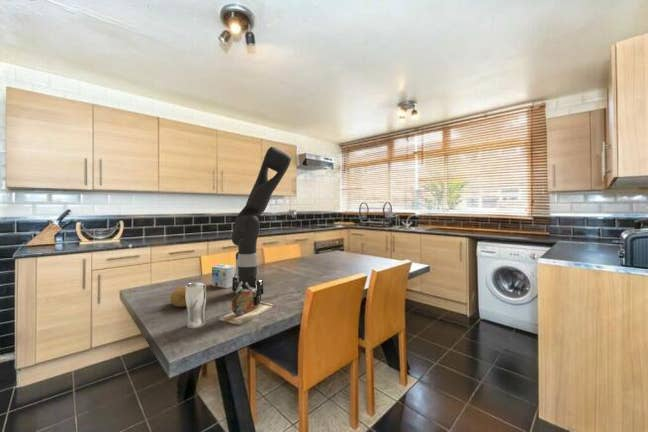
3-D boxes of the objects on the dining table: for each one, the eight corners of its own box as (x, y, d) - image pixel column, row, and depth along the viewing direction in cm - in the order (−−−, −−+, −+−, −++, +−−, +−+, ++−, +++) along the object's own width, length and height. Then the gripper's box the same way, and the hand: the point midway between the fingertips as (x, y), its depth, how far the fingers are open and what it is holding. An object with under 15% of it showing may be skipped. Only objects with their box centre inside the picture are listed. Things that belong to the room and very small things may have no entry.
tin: (236, 318, 104) (236, 296, 104) (230, 317, 106) (230, 295, 105) (261, 305, 118) (261, 286, 118) (256, 304, 119) (256, 285, 119)
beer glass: (190, 321, 104) (189, 281, 103) (209, 320, 104) (208, 281, 104) (182, 329, 97) (181, 287, 96) (202, 328, 97) (202, 287, 97)
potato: (193, 298, 128) (193, 281, 128) (197, 308, 116) (196, 290, 116) (169, 302, 123) (169, 284, 123) (170, 313, 111) (170, 293, 111)
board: (219, 320, 105) (219, 316, 105) (254, 303, 123) (254, 300, 123) (239, 325, 101) (239, 321, 101) (272, 307, 119) (272, 304, 119)
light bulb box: (211, 285, 149) (211, 266, 148) (220, 282, 155) (220, 263, 155) (226, 288, 145) (226, 268, 144) (235, 285, 151) (235, 265, 150)
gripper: (227, 264, 111) (227, 303, 111) (255, 267, 104) (255, 309, 105) (240, 260, 117) (240, 298, 118) (267, 264, 111) (267, 303, 112)
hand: (247, 303), depth 112 cm, fingers open, 8 cm apart
